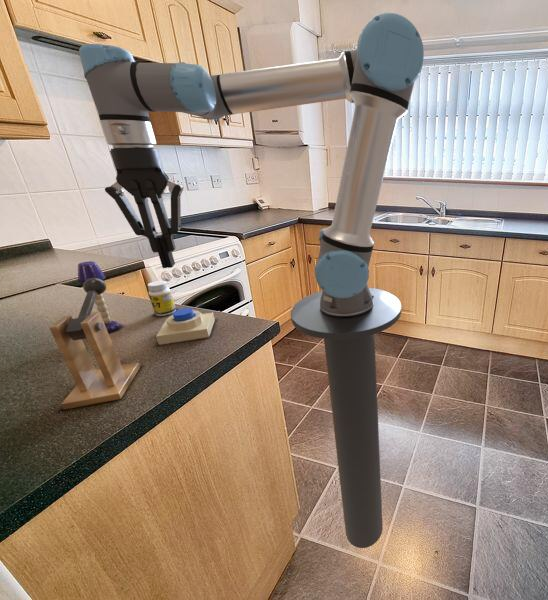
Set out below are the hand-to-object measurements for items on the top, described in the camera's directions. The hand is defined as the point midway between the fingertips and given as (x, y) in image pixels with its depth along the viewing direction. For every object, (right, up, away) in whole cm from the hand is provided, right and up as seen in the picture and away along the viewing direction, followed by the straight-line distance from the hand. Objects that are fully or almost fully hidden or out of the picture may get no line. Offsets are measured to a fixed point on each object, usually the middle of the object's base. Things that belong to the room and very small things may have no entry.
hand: (169, 265), depth 73 cm
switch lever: (-5, -10, -12) cm, 17 cm away
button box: (0, -15, +7) cm, 16 cm away
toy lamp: (-20, -15, +8) cm, 26 cm away
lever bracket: (-3, -23, -12) cm, 26 cm away
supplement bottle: (-12, -11, +16) cm, 23 cm away
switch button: (0, -12, +5) cm, 13 cm away
